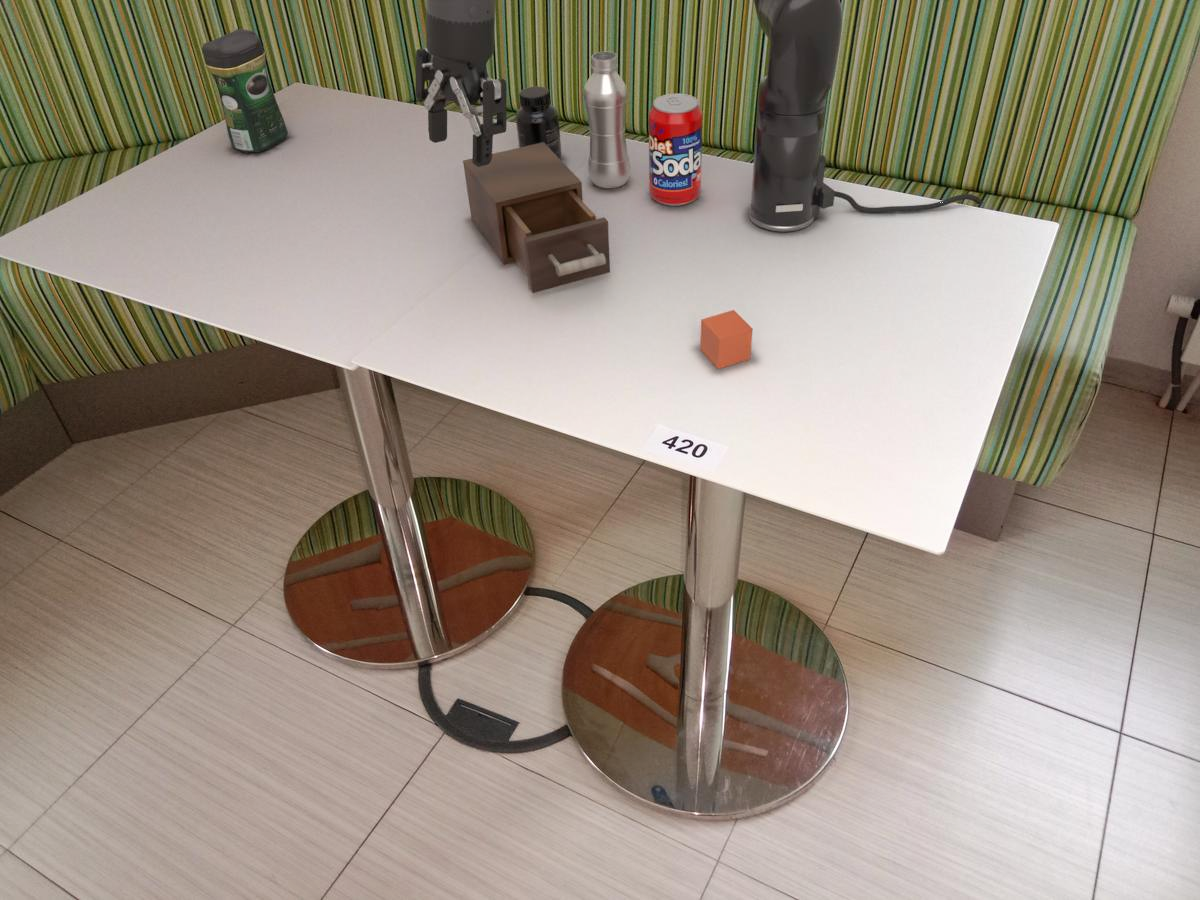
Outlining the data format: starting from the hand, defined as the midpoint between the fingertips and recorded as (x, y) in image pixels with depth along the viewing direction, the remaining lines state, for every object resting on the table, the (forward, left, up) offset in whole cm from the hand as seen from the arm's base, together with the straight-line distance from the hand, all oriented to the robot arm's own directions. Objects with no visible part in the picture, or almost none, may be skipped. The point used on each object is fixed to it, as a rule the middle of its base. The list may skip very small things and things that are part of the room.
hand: (459, 152), depth 116 cm
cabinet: (-12, -14, -21) cm, 28 cm away
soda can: (-36, -13, -21) cm, 44 cm away
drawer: (-12, -1, -20) cm, 23 cm away
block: (-23, +26, -21) cm, 40 cm away
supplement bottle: (-22, -34, -21) cm, 46 cm away
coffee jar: (+19, -66, -21) cm, 72 cm away
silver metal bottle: (-29, -22, -21) cm, 42 cm away
